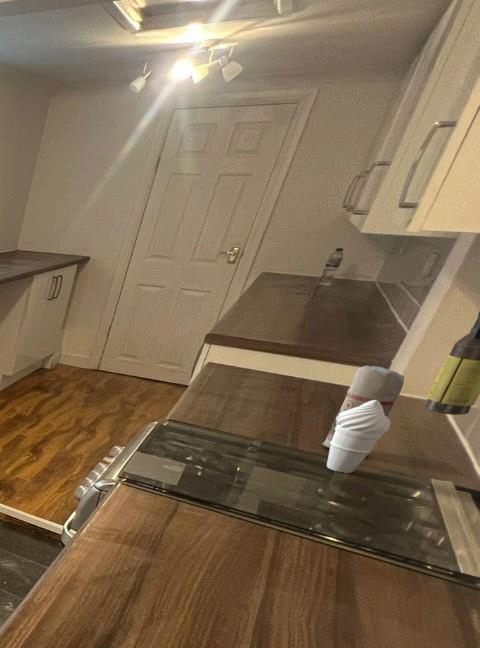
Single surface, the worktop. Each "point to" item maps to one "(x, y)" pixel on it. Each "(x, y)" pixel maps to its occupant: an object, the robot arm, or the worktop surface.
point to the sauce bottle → (458, 377)
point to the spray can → (370, 391)
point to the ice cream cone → (356, 435)
